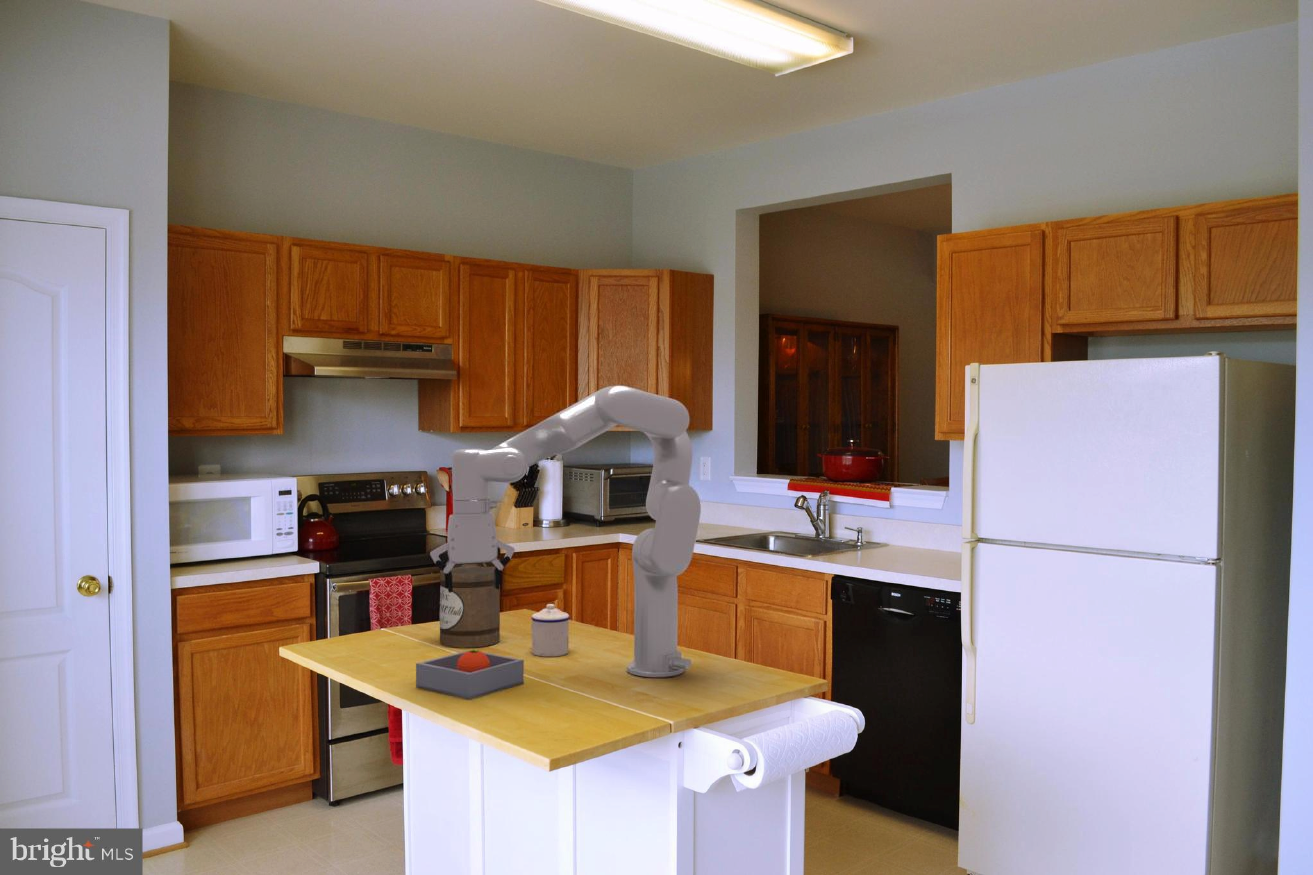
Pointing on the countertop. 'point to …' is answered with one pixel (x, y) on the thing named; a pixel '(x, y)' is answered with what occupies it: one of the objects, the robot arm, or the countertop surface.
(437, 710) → the countertop surface
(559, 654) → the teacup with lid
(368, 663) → the countertop surface
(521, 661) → the bin
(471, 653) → the clementine
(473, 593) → the wooden container
